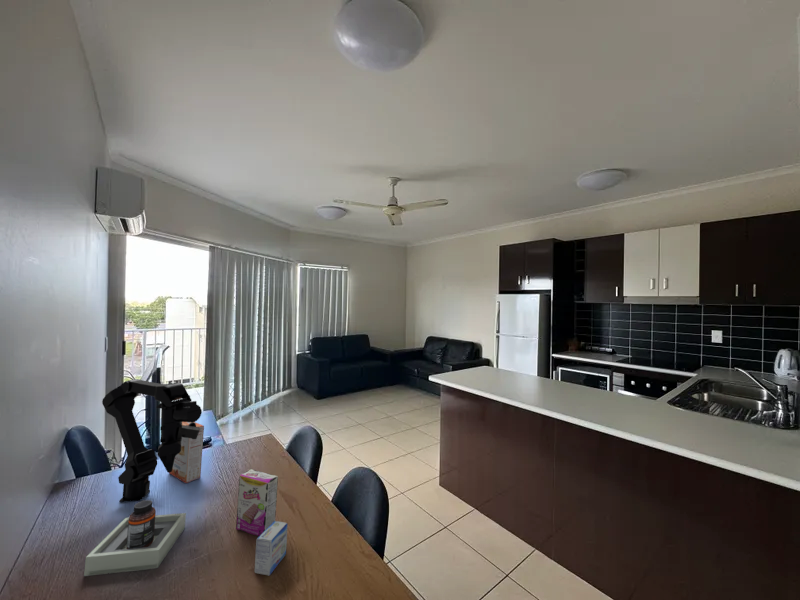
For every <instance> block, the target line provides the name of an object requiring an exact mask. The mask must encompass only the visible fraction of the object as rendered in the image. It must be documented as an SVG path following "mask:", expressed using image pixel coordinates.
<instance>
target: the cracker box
mask: <svg viewBox="0 0 800 600" xmlns="http://www.w3.org/2000/svg"><path fill="white" fill-rule="evenodd" d="M190 423H191V422H182V425H185V426H186V425H187V426H188V425H189V424H190ZM194 423H196V427H199V428H200V431H199V434H198V436H197V439H192V438H185V437H182V441H181V452H180V453H178V454H177V455H176V456H175V460H174V464H173V468H172V472H169V474H170V475H171V476H173V477H174V478H177V479H178V480H179V481H181V482H183V483H184V484H188V483H191V482H193V481H195V480H198V479H200V478H201V475H202V474H201V473H202V459H203V446H204V445H203V443H204V434H205V433H204V431H205V430H204V429H205V426H204V425H203V424H200V423H198V422H197V421H196V422H194Z"/></svg>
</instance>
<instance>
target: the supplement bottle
mask: <svg viewBox="0 0 800 600" xmlns="http://www.w3.org/2000/svg"><path fill="white" fill-rule="evenodd" d="M156 511H157V510H156V508H155V507H154V506H153V501H152V500H151V499H142V500H140V501H137V502H136V503H135V504H134V506H133V511H132V512H131V514H129V517H128V518H129V521H128V534H127V549H133V548H143V547H148V546H150V545H151V544H152V542H153V540H154V529H155V515H157V514H156V513H157V512H156Z"/></svg>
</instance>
